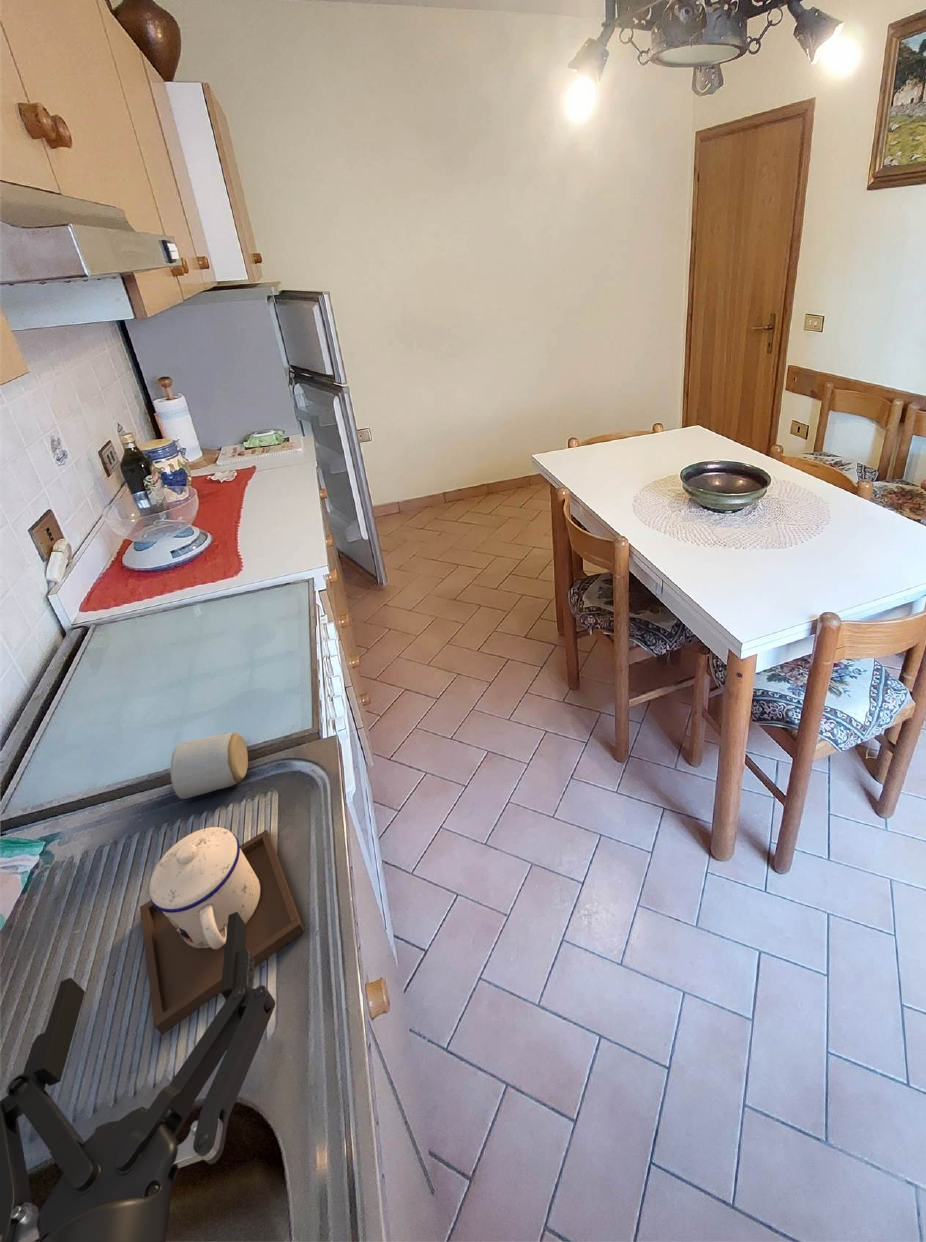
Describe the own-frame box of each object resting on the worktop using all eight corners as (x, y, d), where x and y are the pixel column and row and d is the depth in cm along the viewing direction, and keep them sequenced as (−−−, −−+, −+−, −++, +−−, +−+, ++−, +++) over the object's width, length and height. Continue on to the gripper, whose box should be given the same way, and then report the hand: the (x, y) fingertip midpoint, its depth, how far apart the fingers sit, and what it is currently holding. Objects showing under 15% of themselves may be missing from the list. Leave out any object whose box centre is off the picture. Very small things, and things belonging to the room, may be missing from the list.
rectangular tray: (146, 915, 70) (139, 907, 69) (271, 837, 77) (266, 829, 76) (161, 1035, 59) (154, 1027, 59) (304, 932, 67) (300, 923, 66)
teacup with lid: (176, 900, 70) (135, 843, 65) (255, 854, 75) (223, 797, 69) (186, 998, 62) (139, 941, 56) (275, 940, 66) (240, 882, 60)
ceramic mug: (246, 792, 83) (228, 756, 80) (184, 811, 82) (162, 775, 78) (256, 736, 92) (240, 701, 89) (200, 752, 91) (181, 717, 87)
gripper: (-125, 1459, 34) (20, 1036, 52) (314, 1220, 41) (311, 916, 59) (-216, 1448, 31) (-27, 997, 48) (281, 1187, 38) (288, 874, 55)
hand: (158, 952), depth 54 cm, fingers open, 13 cm apart
